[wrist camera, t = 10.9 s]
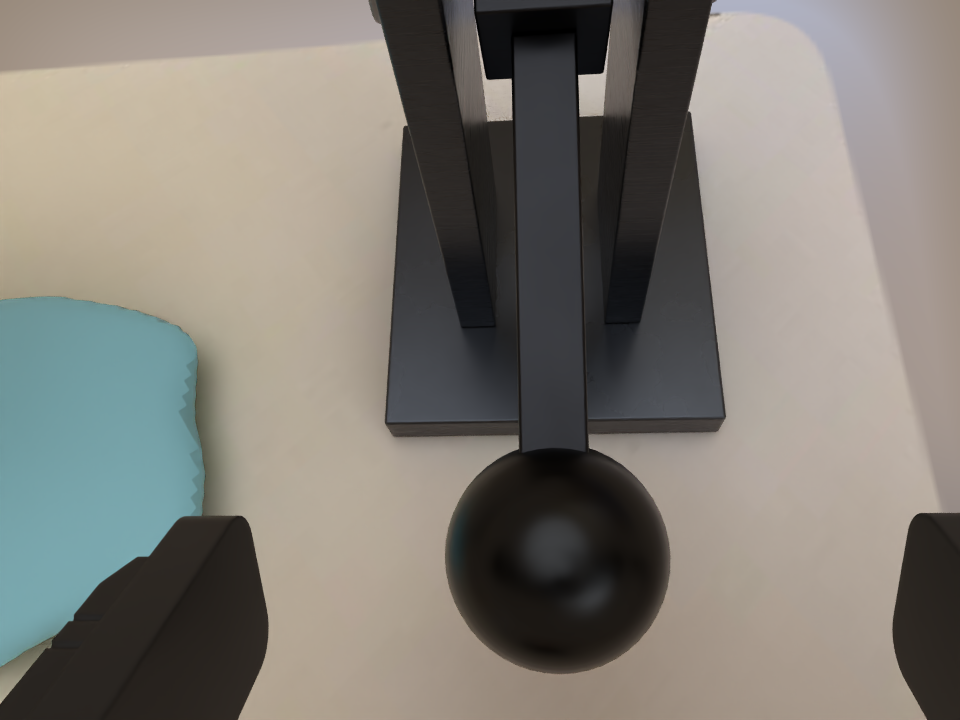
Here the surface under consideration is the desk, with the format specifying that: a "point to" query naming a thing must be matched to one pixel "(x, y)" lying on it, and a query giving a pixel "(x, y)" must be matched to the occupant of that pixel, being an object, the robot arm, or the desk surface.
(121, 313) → the penguin figurine
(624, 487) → the lever
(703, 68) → the desk surface
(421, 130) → the switch bracket
